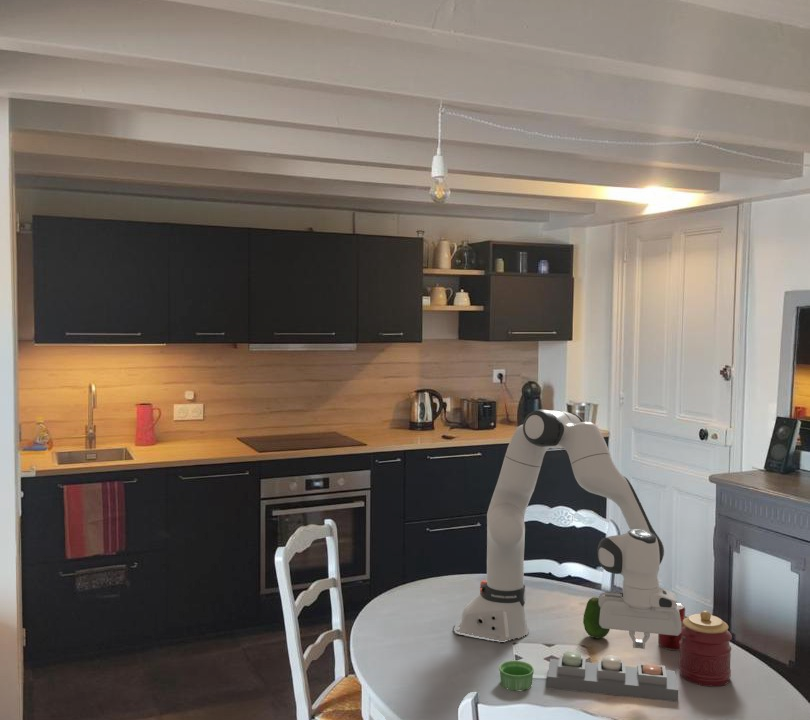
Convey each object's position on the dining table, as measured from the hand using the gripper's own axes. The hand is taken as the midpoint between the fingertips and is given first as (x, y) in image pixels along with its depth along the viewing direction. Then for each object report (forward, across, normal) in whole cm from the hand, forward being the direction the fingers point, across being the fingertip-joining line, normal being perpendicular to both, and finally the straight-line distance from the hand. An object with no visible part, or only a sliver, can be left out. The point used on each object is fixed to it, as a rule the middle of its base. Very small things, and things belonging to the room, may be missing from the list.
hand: (638, 647), depth 207 cm
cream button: (+6, -7, 0) cm, 9 cm away
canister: (+11, +17, +11) cm, 23 cm away
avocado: (+11, -11, +30) cm, 34 cm away
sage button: (+6, -17, 0) cm, 18 cm away
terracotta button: (+7, +3, 0) cm, 8 cm away
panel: (+11, -7, 0) cm, 13 cm away
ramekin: (+11, -31, -5) cm, 33 cm away
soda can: (+11, +10, +29) cm, 33 cm away
